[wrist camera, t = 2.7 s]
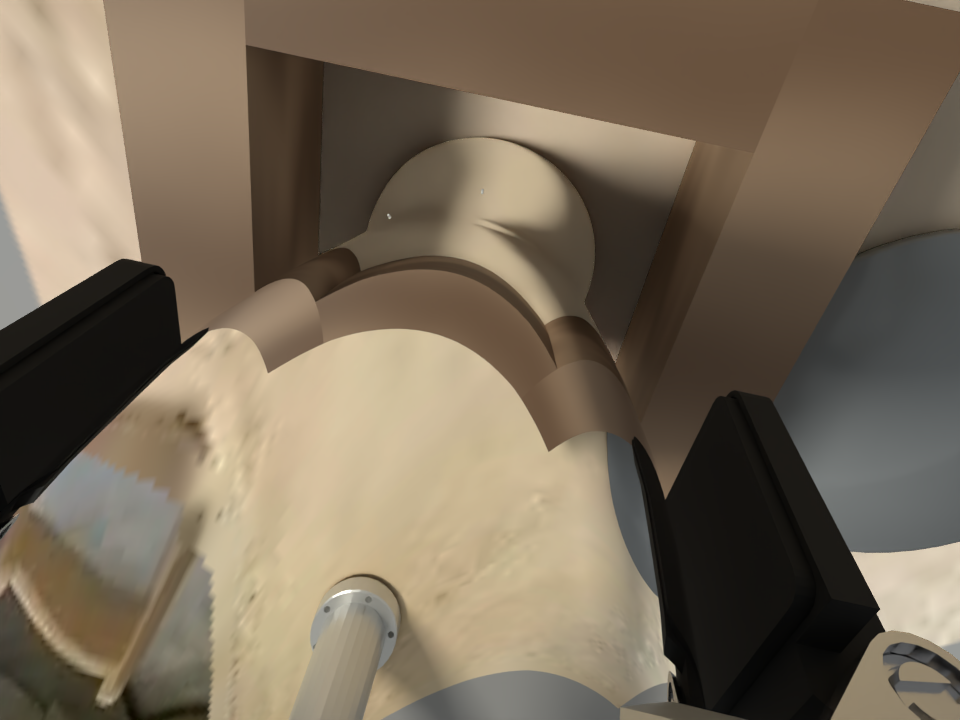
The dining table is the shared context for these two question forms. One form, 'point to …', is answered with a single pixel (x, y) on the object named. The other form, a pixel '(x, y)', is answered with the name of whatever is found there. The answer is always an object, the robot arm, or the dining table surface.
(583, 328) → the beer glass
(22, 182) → the dining table surface
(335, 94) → the dining table surface
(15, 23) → the dining table surface
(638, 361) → the frame
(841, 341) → the coaster
